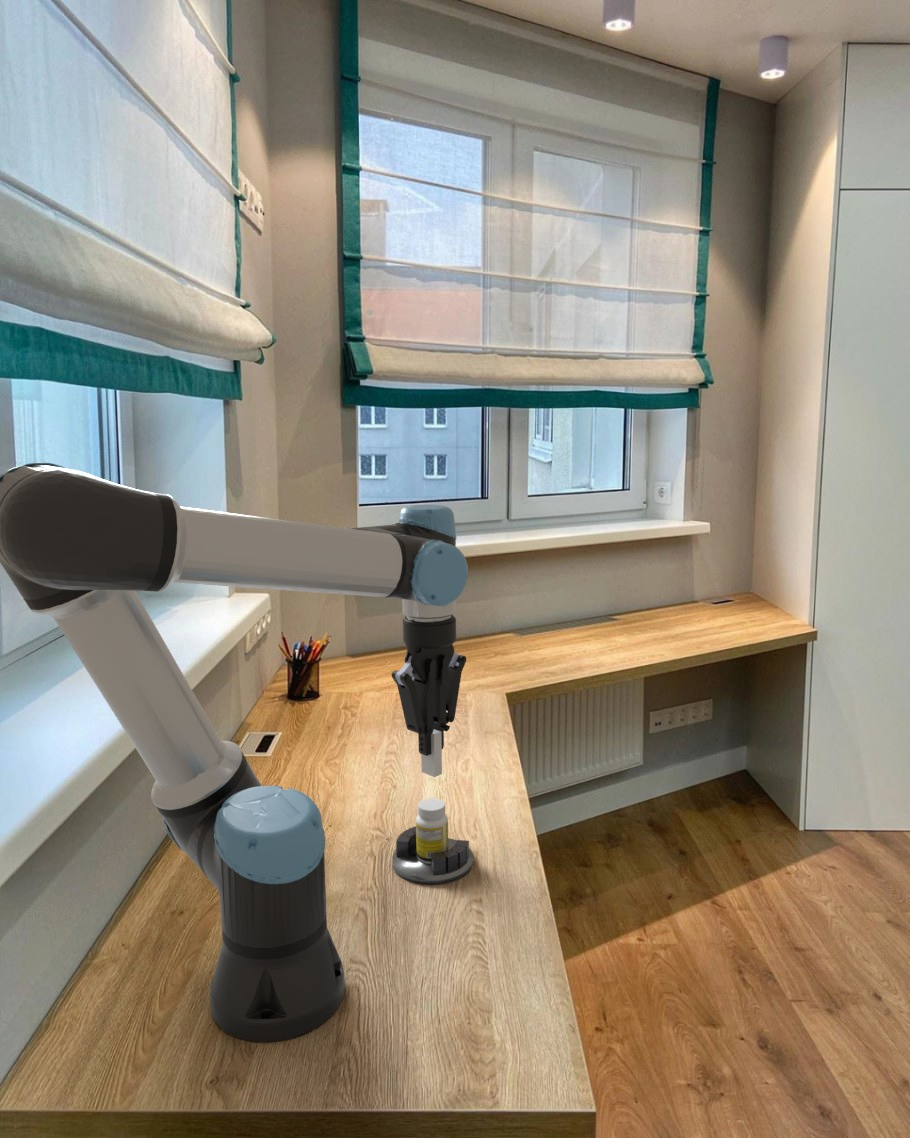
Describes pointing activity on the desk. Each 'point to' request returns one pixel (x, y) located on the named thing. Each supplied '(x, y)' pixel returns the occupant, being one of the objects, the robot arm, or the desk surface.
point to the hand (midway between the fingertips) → (431, 772)
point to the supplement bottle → (431, 829)
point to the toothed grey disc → (442, 864)
